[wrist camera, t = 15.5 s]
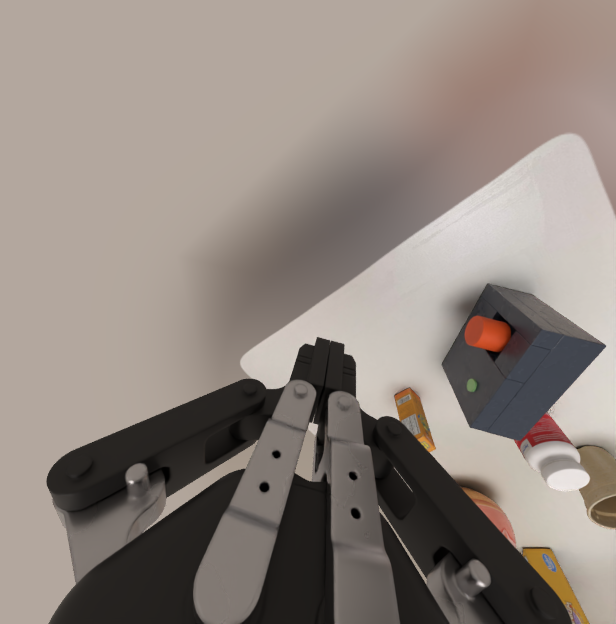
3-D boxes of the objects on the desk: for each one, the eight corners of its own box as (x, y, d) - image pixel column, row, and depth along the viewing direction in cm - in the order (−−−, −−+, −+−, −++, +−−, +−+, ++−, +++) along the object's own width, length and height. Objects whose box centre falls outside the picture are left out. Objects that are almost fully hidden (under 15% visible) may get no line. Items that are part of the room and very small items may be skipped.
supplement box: (422, 398, 46) (438, 451, 37) (404, 406, 48) (415, 459, 39) (410, 385, 45) (424, 437, 37) (393, 394, 47) (401, 446, 38)
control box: (485, 282, 36) (539, 328, 26) (532, 294, 36) (607, 346, 25) (439, 363, 43) (467, 427, 32) (479, 374, 42) (520, 441, 32)
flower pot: (551, 476, 50) (587, 531, 42) (551, 441, 46) (589, 494, 39) (616, 472, 47) (666, 530, 40) (620, 435, 44) (677, 490, 36)
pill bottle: (498, 403, 44) (538, 468, 35) (542, 395, 42) (597, 462, 33) (502, 429, 47) (542, 497, 37) (545, 423, 45) (597, 493, 35)
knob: (475, 310, 33) (487, 325, 29) (500, 316, 32) (516, 332, 29) (460, 334, 34) (471, 351, 31) (485, 341, 34) (498, 358, 31)
